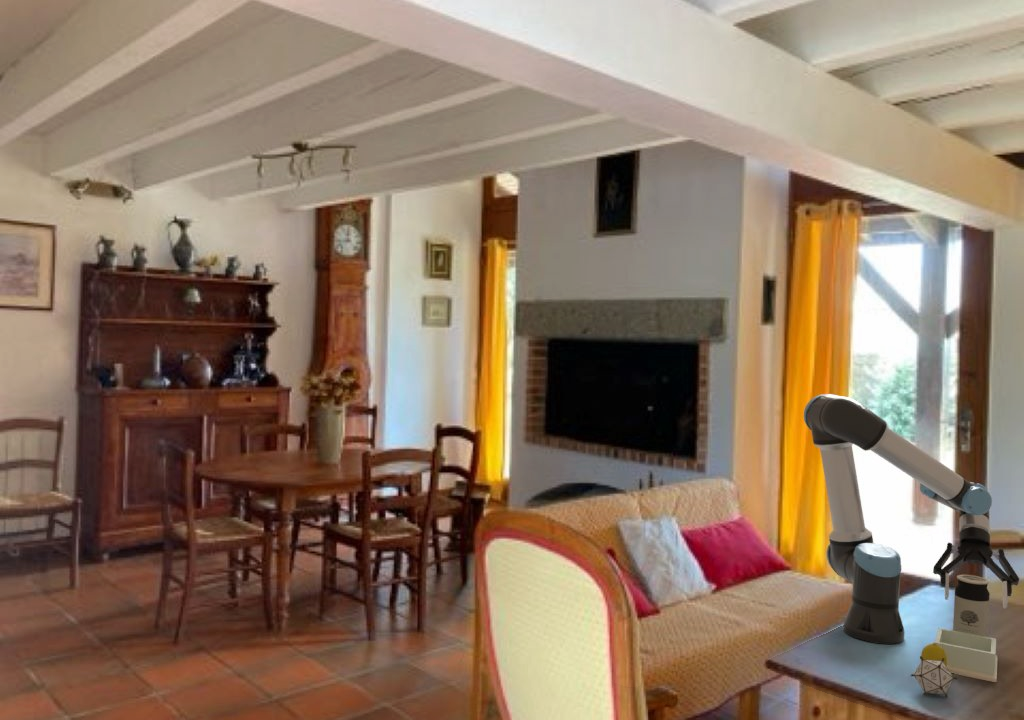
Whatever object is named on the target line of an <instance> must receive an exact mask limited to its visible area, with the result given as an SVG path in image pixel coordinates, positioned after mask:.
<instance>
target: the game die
mask: <svg viewBox="0 0 1024 720" xmlns="http://www.w3.org/2000/svg"><path fill="white" fill-rule="evenodd" d="M919 657H920V658H919V659H920V663H919V665H918V667H917V668H916V671H915V673H912V674H910V676H911V677H914V678H915V680H916V681H917V682H918V684H919V685H920V687H921V689H922V690H923V693H922V696H923V697H924V696H926V695H927V694H933V695H944V697H946V698H947V699H948V698H949V696H948V694H947V692H948V691H949V689H950V687H951V685H952V683H953V682H954V680H958V679H959V678H958V677H957V676H954V675H953V673H950V671H949V670H948V668H947V667H946V665H945V664H944V662H943V661H944V658H942V661H937V660H924V659H923V658H922V657H921V655H920V656H919ZM921 660H922V661H921Z"/></svg>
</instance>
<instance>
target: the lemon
mask: <svg viewBox="0 0 1024 720" xmlns="http://www.w3.org/2000/svg"><path fill="white" fill-rule="evenodd" d="M920 656H921V657H922V658H923V659H924V660H937V661H942V658H944V661H943V662H944V664H945V665H947V657H946V653H945V651H944V650H943V649H942V648H941V647H940V646H939V645H937V644H936V643H935V642H932V643H929V644H927V645H925V646H924V647H923V648H922V650H921V654H920ZM921 661H922V660H921V659H920V662H921Z"/></svg>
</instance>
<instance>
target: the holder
mask: <svg viewBox="0 0 1024 720" xmlns="http://www.w3.org/2000/svg"><path fill="white" fill-rule="evenodd" d="M934 643H936V644H937V645H939V646H940V647H941V648H942V649H943V650H944V651H945V653H946V657H947V665H946V667H947V668H948V670H949V671H950V673H951V674H953V673H954V675H957V676H958V675H959V676H963V677H967V678H974V679H978V680H983V681H988V682H992V683H997V681H998V680H997V679H998V677H997V676H998V655H996V653H997V652H996V651H997V650H996V649H997V638H996V637H995V638H994V637H990V636H987V637H985V636H980V635H974V634H969V633H964V632H958V631H953V629H948V628H943V627H941V628H940V627H938V629H937V633H936V636H935V639H934Z"/></svg>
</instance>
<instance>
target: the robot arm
mask: <svg viewBox="0 0 1024 720" xmlns="http://www.w3.org/2000/svg"><path fill="white" fill-rule="evenodd" d="M803 421H804V423H805V425H806V426H807V428H808V429H809V430H810V432H811V437H812V441H813V445H814V446H815V447H817V448H818V449H819V450H820V456H821V463H822V469H823V475H824V482H825V485H826V486H825V487H826V488H825V489H826V493H827V500H828V505H829V510H830V511H829V512H830V518H831V524H832V531H831V532H830V533H829V534H828V540H829V544H828V545H827V548H826V560H827V563H828V565H829V566H830V568H831V569H832V570H833V571H834V573H835V574H836V575H838V576H839V577H840V578H842V579H844V580H846V581H848V582H849V583H851V584H852V592H851V593H852V595H851V604H850V606H849V609H848V611H847V613H846V615H845V618H844V621H843V631H844V633H845V634H847V635H849V636H850V637H852V638H855V639H858V640H860V639H861V641H864V640H865V642H868V641H869V643H872V644H873V643H875V644H880V645H881V644H883V645H884V644H885V645H892V644H894V645H895V644H900V643H902V642H904V641H905V628H904V624H903V620H902V618H901V614H900V611H899V610H900V609H899V608H900V607H899V606H900V604H899V603H900V589H901V588H900V586H901V576H902V575H901V572H902V563H901V562H902V561H901V559H902V558H901V555H900V554H899V553H898V552H897V550H895V549H893V548H892V547H889V546H886V545H882V544H879V543H874V538H873V533H872V531H871V530H870V529H868V528H866V525H865V520H864V512H863V506H862V501H861V500H862V499H861V495H860V489H859V483H858V475H857V469H856V463H855V457H854V452H853V450H854V449H853V445H855V446H857V447H859V448H860V449H862V450H863V451H865V452H866V451H872V452H873V453H875V454H876V455H877V456H879V457H880V458H881V459H884V461H886V462H888V463H889V464H892V465H893V466H895V468H897V469H899V470H900V471H902V473H905V474H907V475H908V476H910V477H911V478H913V479H914V480H915V481H917V482H918V483H920V484H919V491H920V492H921V494H922V495H924V496H925V497H928V499H931V500H933V501H935V502H938V503H939V504H942V505H944V506H946V507H949V508H951V509H952V510H954V511H957V512H958V520H959V523H958V524H959V525H958V526H959V530H958V531H959V532H958V533H959V534H958V535H959V536H958V538H959V541H958V543H959V545H955V544H953V543H952V542H947V545H946V548H945V550H944V552H943V553H942V555H941V556H940V557H939V559H938V560H937V561H936V563H935V564H934V566H933V570H932V571H933V572H932V573H933V574H934V575H939V577H940V587H943V588H944V600H947V601H948V600H949V594H950V586H949V585H950V573H952V572H953V571H955V570H956V569H957V568H958V567H959V566H961V565H963V564H964V563H968V564H972V565H973V564H976V565H979V566H980V565H984V566H985V568H987V569H989V570H990V571H991V572H992V573H993V574H994V576H996V577H997V578H998V579H999V580H1000V581H1001V582H1002V585H1001V587H1002V588H1001V589H1002V590H1001V591H1002V608H1003V609H1007V608H1008V604H1009V601H1008V597H1012V594H1013V589H1012V587H1013V585H1014V586H1018V585H1019V582H1020V577H1019V576H1018V575H1017V573H1016V571H1015V570H1014V568H1013V567H1012V566H1011V564H1010V562H1009V561H1008V559H1007V558H1006V556H1005V551H1004V549H1002V548H999V549H998V550H993V549H992V548H991V535H990V533H991V527H990V525H991V523H990V509H991V507H992V503H993V500H992V499H993V497H992V496H991V493H990V492H989V491H988V488H987V487H986V486H984V485H983V484H981V483H975V482H973V481H972V482H971V481H969V480H967V479H966V478H964V477H962V476H961V475H959V474H958V473H957V472H955V471H954V470H952V469H950V468H949V467H948V466H946V465H944V464H943V463H942V462H941V461H939V460H937V459H935V458H934V456H931V455H929V454H928V453H926V452H925V451H924V450H922V449H920V447H917V446H916V445H915V444H914V443H911V441H909V440H907V439H905V437H903V436H901V435H900V434H898V433H897V432H896V431H893V430H892V429H891V428H889V427H888V422H887V421H886V420H884V419H883V418H881V417H880V416H878V415H877V414H875V413H874V412H873V411H872V410H870V409H869V408H868V407H866V406H864V405H863V404H862V403H860V402H859V401H857V400H855V399H854V398H852V397H851V398H850V397H848V396H847V397H846V396H841V395H837V394H833V393H824V394H819V395H817V396H814V397H813V398H811V399H810V400H809V401H808V403H806V405H805V408H804V410H803ZM955 552H958V554H959V555H957V556H956V557H955V558H954V559H953V560H952V561H950V562H949V563H947V565H946V562H948V560H949V558H950V557H951V555H953V554H954V553H955ZM992 557H995V559H996V560H997V561H998V562H999V564H1000V566H1001V567H1002V568H1001V567H1000V566H999V565H998V564H997V563H995V561H994V559H993V558H992ZM944 565H945V566H944ZM943 566H944V567H943Z"/></svg>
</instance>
